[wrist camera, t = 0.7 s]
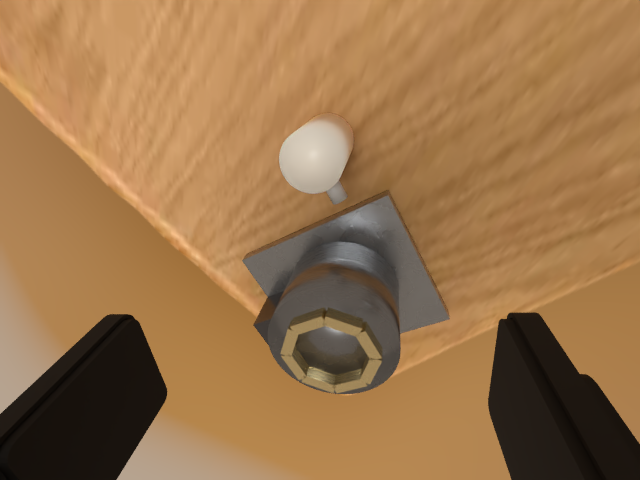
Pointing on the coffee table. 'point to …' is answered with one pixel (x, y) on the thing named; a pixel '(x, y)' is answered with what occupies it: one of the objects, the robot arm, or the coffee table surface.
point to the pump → (318, 156)
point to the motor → (344, 297)
